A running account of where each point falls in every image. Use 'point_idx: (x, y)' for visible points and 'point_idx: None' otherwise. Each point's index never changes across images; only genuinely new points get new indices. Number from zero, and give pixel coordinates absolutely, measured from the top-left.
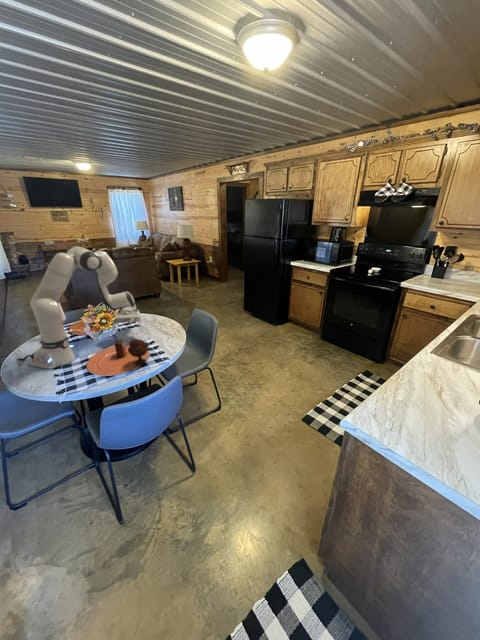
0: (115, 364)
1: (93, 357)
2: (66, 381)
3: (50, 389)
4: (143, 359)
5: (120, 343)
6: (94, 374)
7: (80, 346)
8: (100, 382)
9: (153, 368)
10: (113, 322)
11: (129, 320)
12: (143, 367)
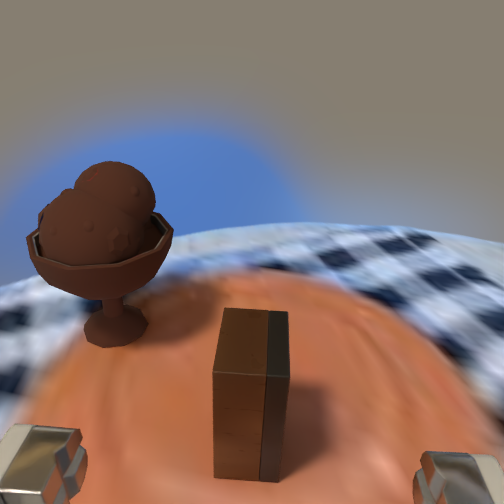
0: None
1: None
2: (451, 275)
3: (475, 252)
4: (93, 323)
5: (235, 308)
6: (350, 288)
7: None
8: (297, 248)
9: None
10: (454, 455)
11: (27, 463)
12: None
